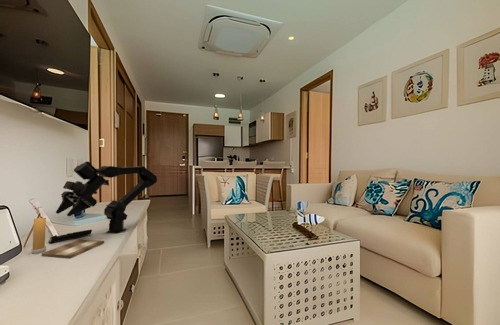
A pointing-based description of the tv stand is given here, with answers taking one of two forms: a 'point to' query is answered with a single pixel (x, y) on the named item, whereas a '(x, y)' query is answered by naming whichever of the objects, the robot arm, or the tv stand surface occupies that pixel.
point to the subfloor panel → (73, 248)
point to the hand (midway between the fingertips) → (62, 214)
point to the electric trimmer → (69, 236)
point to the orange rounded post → (39, 236)
